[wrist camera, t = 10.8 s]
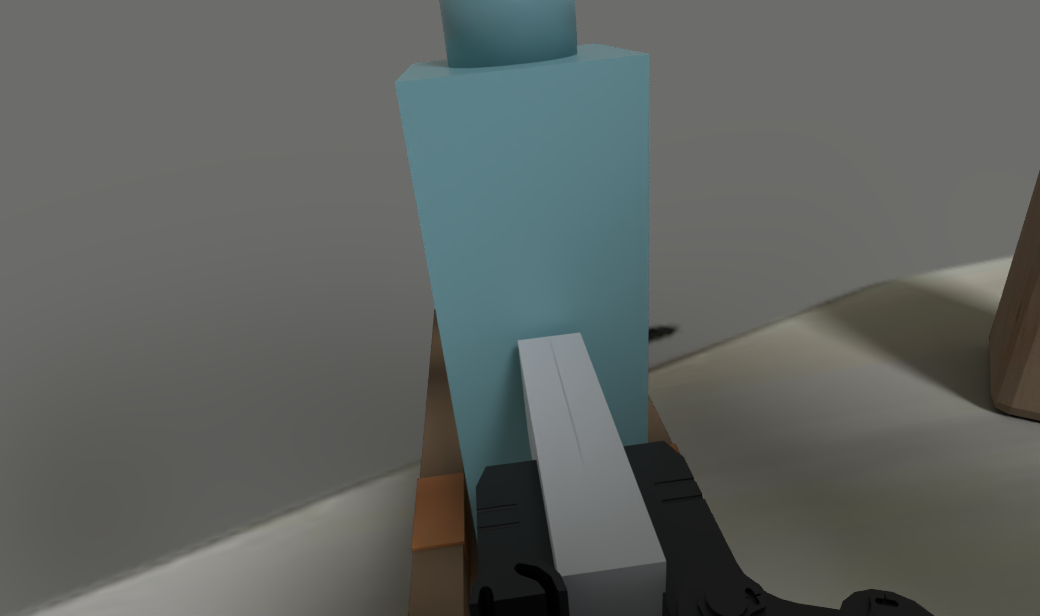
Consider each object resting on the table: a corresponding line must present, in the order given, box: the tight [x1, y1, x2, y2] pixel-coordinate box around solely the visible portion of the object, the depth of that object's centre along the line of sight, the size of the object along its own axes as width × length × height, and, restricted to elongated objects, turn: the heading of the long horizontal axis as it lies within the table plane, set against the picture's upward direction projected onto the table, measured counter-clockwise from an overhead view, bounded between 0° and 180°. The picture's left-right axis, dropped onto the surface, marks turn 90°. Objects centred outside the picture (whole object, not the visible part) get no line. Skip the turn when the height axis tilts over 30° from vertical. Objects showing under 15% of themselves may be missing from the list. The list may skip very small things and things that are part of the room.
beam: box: [408, 310, 681, 616], centre depth 22 cm, size 30×9×12 cm, turn 5°
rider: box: [395, 0, 649, 544], centre depth 17 cm, size 5×5×16 cm
